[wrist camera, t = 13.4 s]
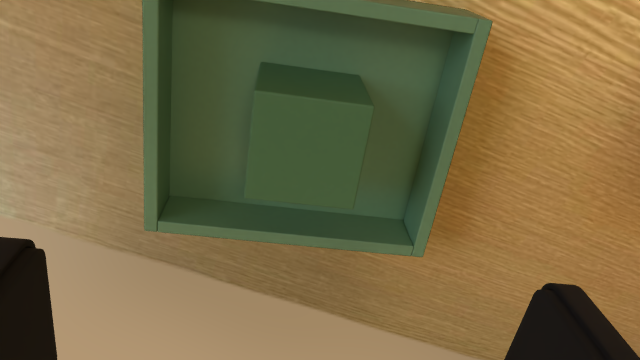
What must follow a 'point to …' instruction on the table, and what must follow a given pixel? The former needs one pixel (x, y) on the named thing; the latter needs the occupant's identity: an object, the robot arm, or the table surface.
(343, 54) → the green tray
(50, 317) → the robot arm
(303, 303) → the table surface
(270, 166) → the green block
